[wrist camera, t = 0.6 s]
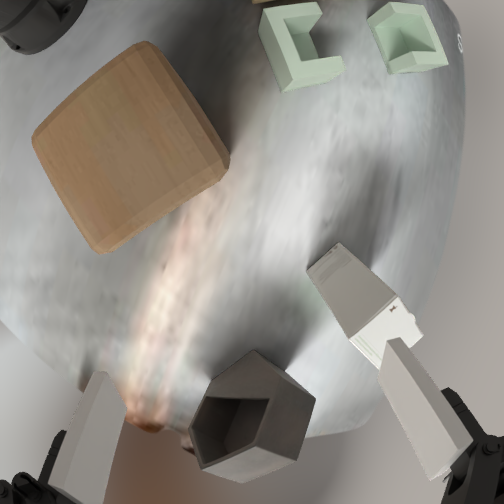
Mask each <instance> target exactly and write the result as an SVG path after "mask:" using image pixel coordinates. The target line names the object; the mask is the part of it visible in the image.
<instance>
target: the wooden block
mask: <svg viewBox="0 0 504 504" xmlns="http://www.w3.org/2000/svg"><path fill="white" fill-rule="evenodd" d="M32 146H33V148H34V150H35V153H36V155H37V157H38V159H39V161H40V163H41V165H42V167H43V168H44V170H45V172H46V174H47V176H48V178H49V180H50V182H51V184H52V185H53V187H54V189H55V191H56V192H57V194H58V196H59V198H60V199H61V201H62V203H63V205H64V206H65V208H66V210H67V211H68V213H69V215H70V216H71V218H72V219H73V221H74V223H75V224H76V226H77V227H78V229H79V231H80V232H81V234H82V235H83V237H84V238H85V240H86V241H87V243H88V244H89V246H90V247H91V249H93V250H94V251H95V252H96V253H98V254H104V253H110V252H113V251H114V250H116V249H117V248H119V247H120V246H121V245H123V244H124V243H126V242H127V241H128V240H130V239H131V238H133V237H134V236H135V235H137V234H138V233H140V232H141V231H143V230H144V229H146V228H147V227H148V226H150V225H151V224H153V223H154V222H156V221H157V220H159V219H160V218H162V217H163V216H165V215H166V214H168V213H169V212H171V211H172V210H174V209H175V208H177V207H179V206H180V205H182V204H183V203H185V202H186V201H188V200H189V199H191V198H193V197H194V196H196V195H197V194H199V193H201V192H202V191H204V190H205V189H207V188H209V187H210V186H212V185H214V184H215V183H217V182H219V181H220V180H221V179H222V177H223V176H224V175H225V173H226V172H227V171H228V169H229V164H230V153H229V152H228V150H227V149H226V147H225V145H224V144H223V142H222V140H221V139H220V137H219V135H218V134H217V132H216V131H215V129H214V127H213V126H212V124H211V123H210V121H209V119H208V118H207V116H206V114H205V113H204V111H203V110H202V108H201V107H200V105H199V103H198V102H197V100H196V99H195V97H194V96H193V94H192V93H191V92H190V90H189V89H188V87H187V86H186V85H185V83H184V82H183V81H182V79H181V78H180V76H179V75H178V74H177V72H176V71H175V70H174V68H173V67H172V66H171V64H170V63H169V62H168V60H167V59H166V58H165V56H164V55H163V54H162V52H161V51H160V50H159V48H158V47H157V46H155V45H153V44H152V43H150V42H148V41H142V42H139V43H136V44H134V45H132V46H131V47H129V48H128V49H126V50H125V51H123V52H122V53H121V54H119V55H118V56H116V57H115V58H114V59H112V60H111V61H110V62H108V63H107V64H106V65H104V66H103V67H102V68H101V69H99V70H98V71H97V72H96V73H94V74H93V75H92V76H91V77H89V78H88V79H87V80H86V81H85V82H84V83H82V84H81V85H80V86H79V87H78V88H77V89H76V90H74V91H73V92H72V93H71V94H70V95H69V96H68V97H67V98H66V99H65V100H64V101H63V102H62V103H61V104H60V105H59V106H58V107H57V108H56V109H55V110H54V111H53V112H52V113H51V114H50V115H49V116H48V117H47V118H46V119H45V120H44V121H43V122H42V123H41V124H40V125H39V126H38V127H37V129H36V130H35V131H34V133H33V135H32Z"/></svg>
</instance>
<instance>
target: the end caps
mask: <svg viewBox="0 0 504 504" xmlns="http://www.w3.org/2000/svg"><path fill="white" fill-rule="evenodd" d="M321 15H322V12H321V10H320V8H319V6H318V4H317V2H309V3H300V4H291V5H284V6H277V7H271V8H266V9H263V13H262V17H261V21H260V25H259V29H258V35H259V37H260V40H261V42H262V44H263V47H264V49H265V52H266V54H267V57H268V59H269V62H270V65H271V67H272V70H273V72H274V75H275V78H276V80H277V83H278V86H279V88H280V91H281V93H283V92H287V91H291V90H296V89H300V88H305V87H309V86H314V85H319V84H325V83H327V82H329V81H330V80H332V79H333V78H335V77H336V76H338V75H339V74H341V73H343V72H344V71H346V68H345V65H344V62H343V60H342V57H341V56H334V57H327V58H321V59H319V56H318V54H317V51H316V49H315V46H314V44H313V41H312V39H311V37H310V34H309V31H310V30H311V29H312V27H313V26H314V25H315V23H316V22H317V20H318V19H319V18H320V16H321ZM367 22H368V24H369V26H370V28H371V31H372V33H373V35H374V37H375V40H376V42H377V44H378V47H379V49H380V52H381V54H382V57H383V60H384V62H385V65H386V68H387V70H388V73H389V74H401V73H418V72H423V71H426V70H430V69H433V68H437V67H441V66H445V65H448V61H447V58H446V56H445V53H444V50H443V48H442V45H441V43H440V40H439V38H438V35H437V33H436V31H435V28H434V26H433V24H432V22H431V20H430V18H429V15H428V13H427V11H426V9H425V7H424V5H417V4H409V3H399V2H388V3H387V4H386V5H384V6H383V7H382V8H381V9H379V10H378V11H377V12H376V13H374V14H373V15H372V16H371V17H369V18H368V19H367Z"/></svg>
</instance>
